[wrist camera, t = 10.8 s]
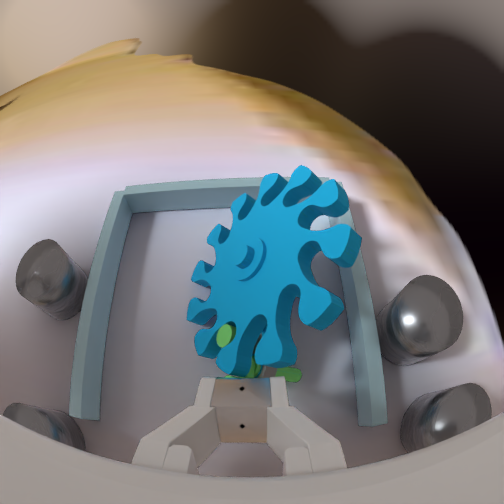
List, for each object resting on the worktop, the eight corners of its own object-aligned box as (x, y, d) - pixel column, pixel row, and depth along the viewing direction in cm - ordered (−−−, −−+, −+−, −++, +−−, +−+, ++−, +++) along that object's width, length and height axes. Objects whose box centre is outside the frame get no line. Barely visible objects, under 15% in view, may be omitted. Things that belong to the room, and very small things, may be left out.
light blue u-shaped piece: (88, 417, 12) (68, 415, 10) (125, 205, 20) (116, 187, 18) (372, 422, 12) (387, 423, 10) (334, 197, 20) (340, 177, 18)
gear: (208, 195, 18) (344, 126, 11) (272, 236, 21) (400, 201, 14) (155, 371, 14) (306, 432, 6) (238, 388, 17) (386, 420, 10)
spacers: (48, 560, 5) (21, 569, 2) (53, 267, 17) (27, 240, 14) (439, 568, 4) (465, 582, 1) (422, 257, 17) (446, 227, 14)
